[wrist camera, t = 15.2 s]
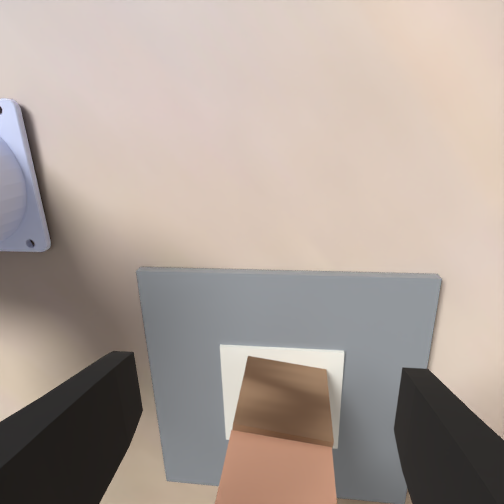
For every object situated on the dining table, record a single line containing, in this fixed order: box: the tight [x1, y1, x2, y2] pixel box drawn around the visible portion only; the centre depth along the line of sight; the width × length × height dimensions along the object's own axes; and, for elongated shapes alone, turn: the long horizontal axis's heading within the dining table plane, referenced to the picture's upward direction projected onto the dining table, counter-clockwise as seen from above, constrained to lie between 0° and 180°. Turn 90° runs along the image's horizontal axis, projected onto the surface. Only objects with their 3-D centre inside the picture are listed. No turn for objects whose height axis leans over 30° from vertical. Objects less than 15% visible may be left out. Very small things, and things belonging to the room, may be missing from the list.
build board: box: [136, 267, 442, 504], centre depth 22 cm, size 16×16×1 cm
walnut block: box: [232, 356, 334, 448], centre depth 19 cm, size 4×4×5 cm
